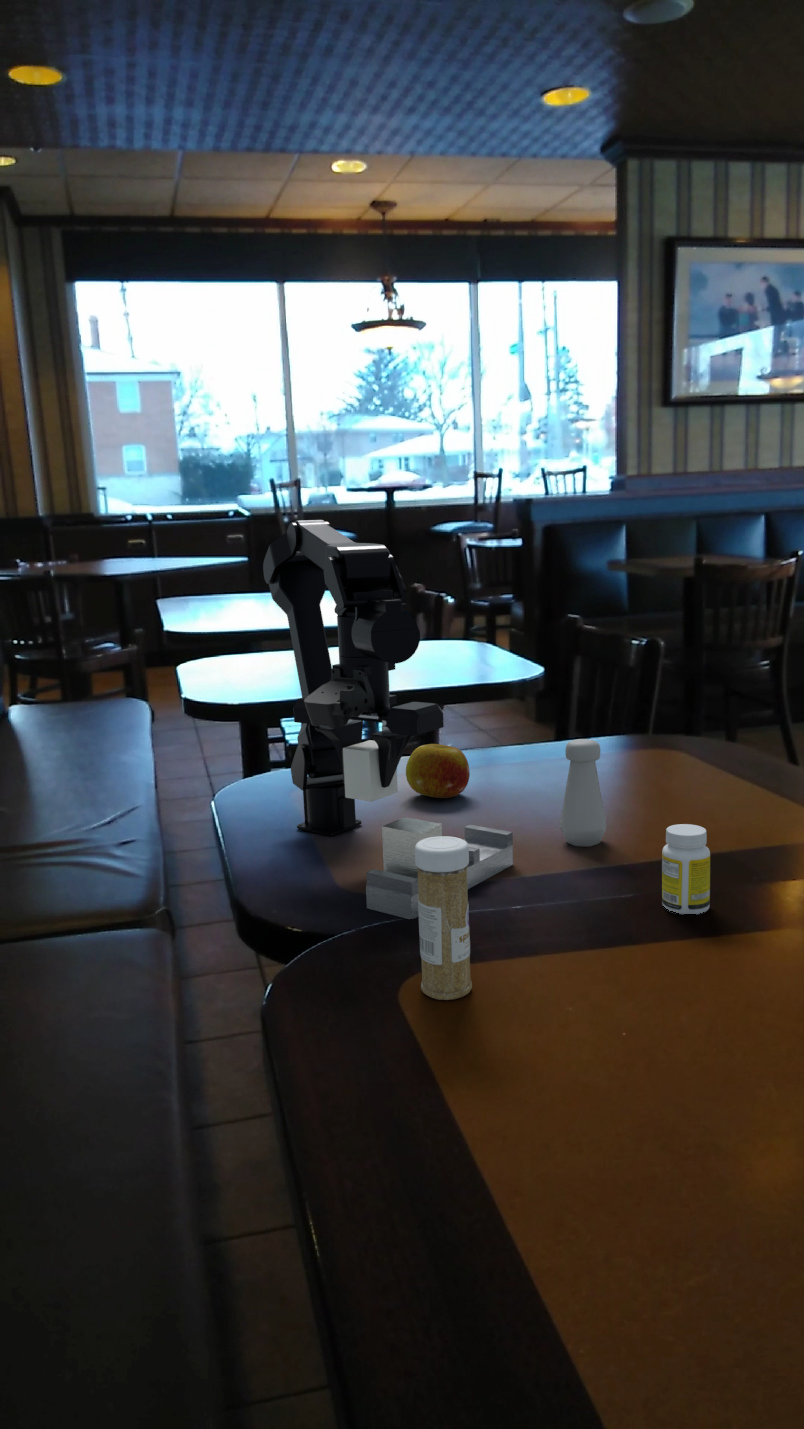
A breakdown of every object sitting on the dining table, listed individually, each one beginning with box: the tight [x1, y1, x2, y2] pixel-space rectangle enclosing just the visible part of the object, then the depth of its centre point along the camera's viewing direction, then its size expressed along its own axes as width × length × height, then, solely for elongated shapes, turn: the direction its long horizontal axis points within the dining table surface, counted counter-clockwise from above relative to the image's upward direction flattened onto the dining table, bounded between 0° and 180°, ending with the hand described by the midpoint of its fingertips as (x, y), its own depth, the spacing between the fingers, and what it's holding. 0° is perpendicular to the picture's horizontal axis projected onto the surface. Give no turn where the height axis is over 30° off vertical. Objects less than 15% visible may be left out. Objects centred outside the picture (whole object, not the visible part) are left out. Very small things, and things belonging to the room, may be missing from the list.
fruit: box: [405, 743, 471, 799], centre depth 149 cm, size 10×9×8 cm
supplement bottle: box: [661, 823, 711, 915], centre depth 103 cm, size 5×5×8 cm
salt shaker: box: [559, 738, 607, 847], centre depth 125 cm, size 6×6×13 cm
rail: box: [365, 816, 514, 920], centre depth 112 cm, size 6×20×8 cm, turn 143°
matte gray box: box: [342, 739, 399, 803], centre depth 119 cm, size 5×5×6 cm
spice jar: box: [415, 835, 473, 1001], centre depth 86 cm, size 5×5×14 cm
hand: (369, 784), depth 120 cm, fingers closed on matte gray box, 5 cm apart
